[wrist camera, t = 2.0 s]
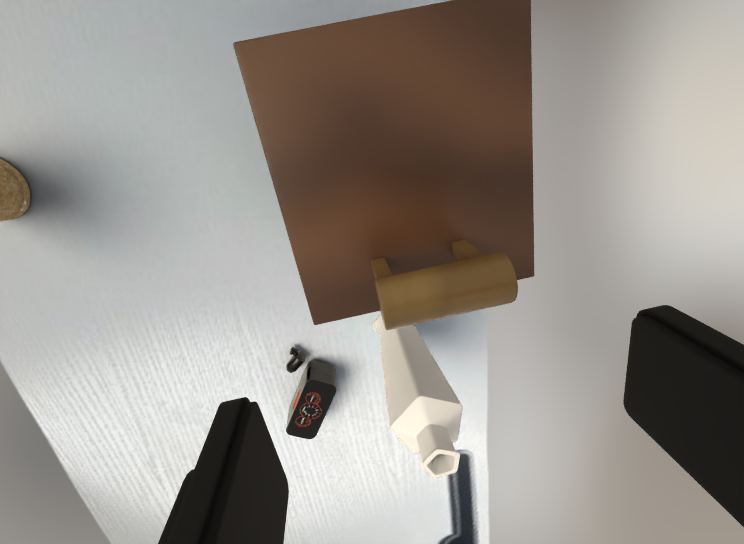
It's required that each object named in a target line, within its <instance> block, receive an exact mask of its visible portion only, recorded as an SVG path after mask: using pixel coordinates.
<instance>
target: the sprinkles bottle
mask: <svg viewBox="0 0 744 544" xmlns="http://www.w3.org/2000/svg"><path fill="white" fill-rule="evenodd" d="M30 199H31V197H30V190H29V187H28V185H27V182H26V180H25V179H24V177H23V176H22V175H21V173H20V172H18V171H17V170H16V169H15V168H14V167H13V166H11V165H10V164H9V163H7V162H6V161H4V160H1V159H0V221H6V220H12V219H14V218H17V217H19V216H21V215H22V214H24V213H25V211H26V210H27V209H28V207H29V204H30Z"/></svg>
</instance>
